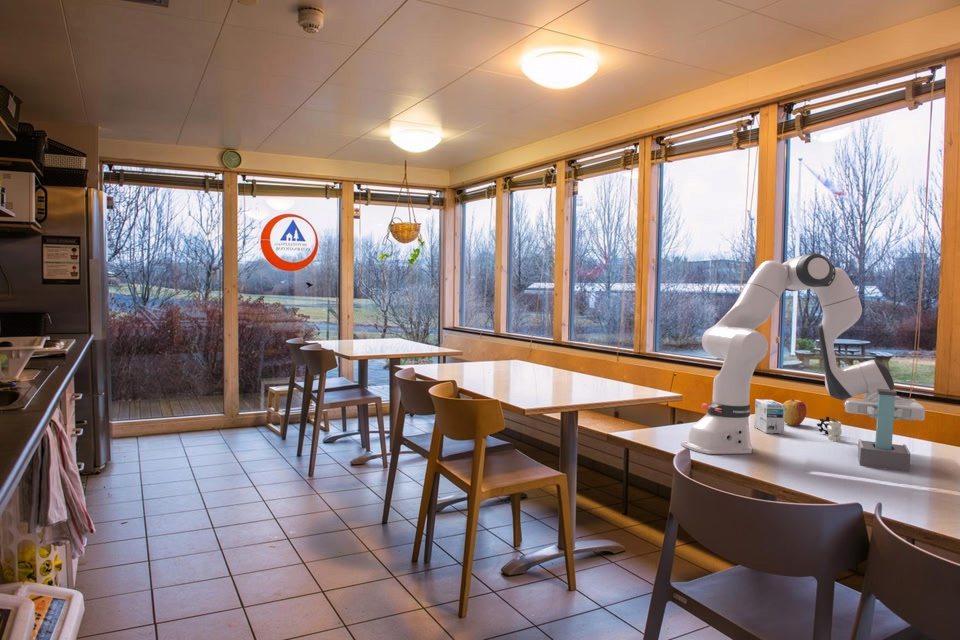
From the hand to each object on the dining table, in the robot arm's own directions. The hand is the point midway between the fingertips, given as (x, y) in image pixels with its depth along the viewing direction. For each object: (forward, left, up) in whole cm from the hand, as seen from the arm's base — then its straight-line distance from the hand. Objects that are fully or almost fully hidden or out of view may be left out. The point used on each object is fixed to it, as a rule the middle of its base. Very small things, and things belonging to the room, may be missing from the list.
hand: (885, 413), depth 186 cm
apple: (+24, +55, -17) cm, 62 cm away
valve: (+20, +34, -17) cm, 43 cm away
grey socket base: (+1, +1, -16) cm, 16 cm away
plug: (+1, +1, -11) cm, 11 cm away
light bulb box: (+6, +49, -17) cm, 52 cm away
